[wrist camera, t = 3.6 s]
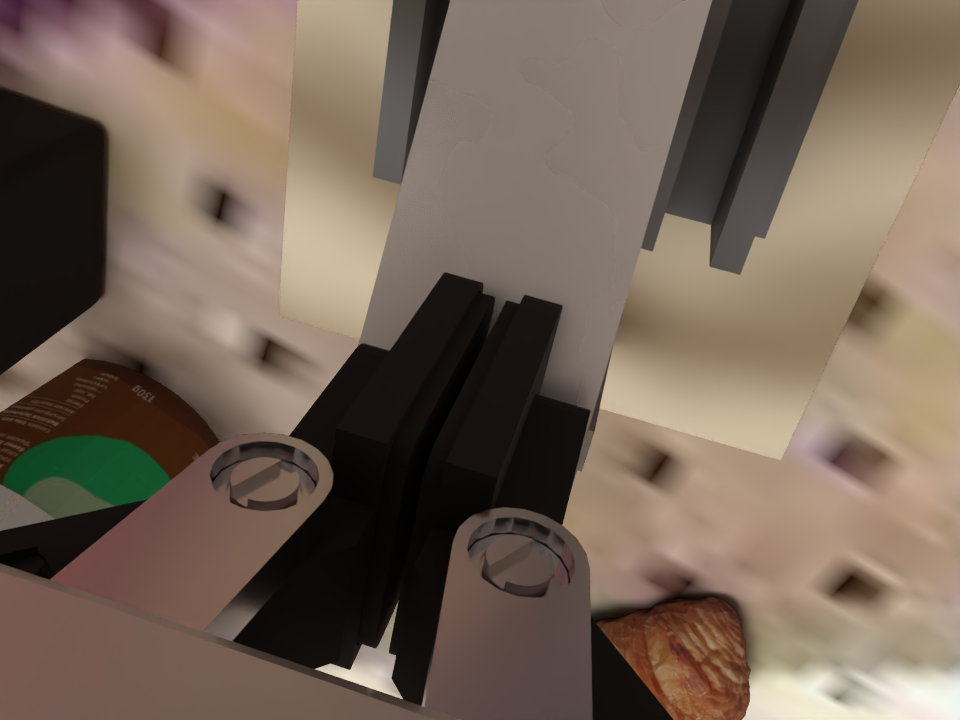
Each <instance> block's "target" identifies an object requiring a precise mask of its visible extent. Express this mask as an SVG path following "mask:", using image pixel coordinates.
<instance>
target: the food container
mask: <svg viewBox="0 0 960 720" xmlns="http://www.w3.org/2000/svg"><path fill="white" fill-rule="evenodd" d="M219 443H220V442H219V440H218V439H217V437H216V436H215V434H214V433H213V432H212V430H211V429H210V427H209V426H208V425H207V423H206V422H205V421H204V420H203V419H202V418H201V417H200V416H199V415H198V414H197V413H196V411H195V410H194V409H193V408H192V407H190V406H189V405H188V404H187V403H186V402H185V401H183V400H182V399H181V398H180V397H179V396H178V395H176V394H175V393H173V392H172V391H170V390H169V389H167V388H166V387H164V386H163V385H162V384H160V383H158V382H156V381H155V380H153V379H151V378H149V377H147V376H145V375H143V374H141V373H139V372H136V371H134V370H131V369H129V368H126V367H124V366H120V365H117V364H113V363H109V362H105V361H99V360H91V359H83V360H81V361H80V362H78V363H77V364H75V365H74V366H72V367H70V368H69V369H67V370H66V371H64V372H63V373H61V374H60V375H58V376H56V377H55V378H53V379H52V380H50V381H49V382H47V383H46V384H44V385H42V386H41V387H39V388H38V389H36V390H35V391H33V392H32V393H30V394H28V395H27V396H25V397H24V398H22V399H21V400H19V401H18V402H16V403H14V404H13V405H11V406H10V407H8V408H7V409H5V410H4V411H2V412H0V531H2V530H7V529H11V528H16V527H21V526H25V525H30V524H35V523H39V522H44V521H49V520H53V519H58V518H63V517H67V516H72V515H77V514H81V513H86V512H91V511H95V510H100V509H105V508H109V507H114V506H119V505H123V504H128V503H133V502H137V501H142V500H147V499H149V498H150V497H151V496H153V495H154V494H155V493H156V492H157V491H159V490H160V489H161V488H162V487H164V486H165V485H166V484H167V483H168V482H170V481H171V480H172V479H173V478H175V477H176V476H177V475H178V474H179V473H181V472H182V471H183V470H184V469H186V468H187V467H188V466H189V465H190V464H192V463H193V462H194V461H195V460H197V459H198V458H199V457H200V456H201V455H203V454H204V453H205V452H206V451H208V450H209V449H210V448H212V447H214V446H215V445H217V444H219Z"/></svg>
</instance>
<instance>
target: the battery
mask: <svg viewBox="0 0 960 720" xmlns="http://www.w3.org/2000/svg"><path fill="white" fill-rule="evenodd" d="M102 180H103V136H102V132H101V130H100V129H99V127H98V126H96V125H95V124H93V123H90V122H88V121H85V120H82V119H80V118H77V117H74V116H71V115H68V114H65V113H63V112H60V111H57V110H54V109H51V108H48V107H46V106H43V105H40V104H37V103H34V102H31V101H29V100H26V99H23V98H20V97H17V96H15V95H12V94H9V93H6V92H3V91H0V375H1V374H2V373H4V372H5V371H6V370H8V369H9V368H10V367H12V366H13V365H14V364H16V363H17V362H18V361H20V360H21V359H22V358H24V357H25V356H26V355H28V354H29V353H30V352H32V351H33V350H34V349H36V348H37V347H38V346H40V345H41V344H42V343H44V342H45V341H46V340H48V339H49V338H50V337H52V336H53V335H54V334H56V333H57V332H58V331H60V330H61V329H62V328H64V327H65V326H66V325H68V324H69V323H70V322H72V321H73V320H74V319H76V318H77V317H78V316H80V315H81V314H82V313H84V312H85V311H86V310H88V309H89V308H90V307H92V306H93V305H94V304H95V303H96V302H97V301H98V299H99V297H100V282H101V231H102Z"/></svg>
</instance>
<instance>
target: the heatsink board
mask: <svg viewBox="0 0 960 720" xmlns="http://www.w3.org/2000/svg"><path fill="white" fill-rule="evenodd" d="M449 3H450V0H298V2H297V19H296V35H295V52H294V69H293V85H292V102H291V118H290V135H289V152H288V168H287V185H286V202H285V218H284V235H283V251H282V268H281V285H280V301H279V317H283V318H286V319H290V320H293V321H297V322H300V323H304V324H307V325H311V326H314V327H318V328H321V329H325V330H328V331H332V332H335V333H339V334H342V335H346V336H349V337H353V338H356V339H360V337H361V333H362V330H363V326H364V322H365V318H366V315H367V311H368V307H369V303H370V300H371V296H372V292H373V288H374V285H375V281H376V277H377V273H378V270H379V266H380V262H381V258H382V255H383V251H384V247H385V243H386V240H387V236H388V232H389V228H390V225H391V221H392V217H393V213H394V210H395V206H396V202H397V198H398V195H399V191H400V187H401V183H402V180H403V176H404V172H405V168H406V165H407V161H408V157H409V153H410V150H411V146H412V142H413V138H414V135H415V131H416V127H417V123H418V120H419V116H420V112H421V108H422V105H423V101H424V97H425V93H426V90H427V86H428V82H429V78H430V75H431V71H432V67H433V63H434V60H435V56H436V52H437V48H438V45H439V41H440V37H441V33H442V30H443V26H444V22H445V18H446V15H447V11H448V7H449ZM959 84H960V0H712V3H711V6H710V10H709V13H708V17H707V20H706V24H705V27H704V31H703V34H702V38H701V41H700V45H699V48H698V51H697V55H696V58H695V62H694V65H693V69H692V72H691V76H690V79H689V83H688V86H687V90H686V93H685V97H684V100H683V104H682V107H681V110H680V114H679V117H678V121H677V124H676V128H675V131H674V135H673V138H672V142H671V145H670V149H669V152H668V156H667V159H666V163H665V166H664V169H663V173H662V176H661V180H660V183H659V187H658V190H657V194H656V197H655V201H654V204H653V208H652V211H651V215H650V218H649V222H648V225H647V228H646V232H645V235H644V239H643V242H642V246H641V249H640V253H639V256H638V260H637V263H636V267H635V270H634V274H633V277H632V280H631V284H630V287H629V291H628V294H627V298H626V301H625V305H624V308H623V312H622V315H621V319H620V322H619V326H618V329H617V333H616V336H615V339H614V343H613V346H612V350H611V353H610V357H609V360H608V364H607V367H606V371H605V374H604V378H603V381H602V385H601V388H600V392H599V395H598V398H597V402H596V405H595V409H594V412H593V416H592V419H591V423H590V426H589V430H588V433H587V437H586V440H585V444H584V447H583V451H582V454H581V457H580V461H579V464H578V468H577V470H578V471H582V469H583V466H584V463H585V459H586V456H587V453H588V450H589V447H590V444H591V441H592V437H593V434H594V431H595V426H596V422H597V417H598V413H599V408H600V409H603V410H607V411H610V412H614V413H617V414H621V415H624V416H628V417H631V418H635V419H638V420H642V421H645V422H649V423H652V424H656V425H659V426H663V427H666V428H670V429H673V430H677V431H680V432H684V433H687V434H690V435H694V436H697V437H701V438H704V439H708V440H711V441H715V442H718V443H722V444H725V445H729V446H732V447H736V448H739V449H743V450H746V451H750V452H753V453H757V454H760V455H764V456H767V457H771V458H774V459H778V460H781V458H782V456H783V454H784V452H785V450H786V448H787V446H788V444H789V441H790V439H791V437H792V435H793V433H794V431H795V429H796V427H797V425H798V423H799V420H800V418H801V416H802V414H803V412H804V410H805V408H806V406H807V404H808V402H809V399H810V397H811V395H812V393H813V391H814V389H815V387H816V385H817V383H818V381H819V378H820V376H821V374H822V372H823V370H824V368H825V366H826V364H827V362H828V360H829V357H830V355H831V353H832V351H833V349H834V347H835V345H836V343H837V341H838V339H839V336H840V334H841V332H842V330H843V328H844V326H845V324H846V322H847V320H848V318H849V315H850V313H851V311H852V309H853V307H854V305H855V303H856V301H857V299H858V297H859V294H860V292H861V290H862V288H863V286H864V284H865V282H866V280H867V278H868V276H869V273H870V271H871V269H872V267H873V265H874V263H875V261H876V259H877V257H878V255H879V252H880V250H881V248H882V246H883V244H884V242H885V240H886V238H887V236H888V234H889V231H890V229H891V227H892V225H893V223H894V221H895V219H896V217H897V215H898V213H899V210H900V208H901V206H902V204H903V202H904V200H905V198H906V196H907V194H908V192H909V189H910V187H911V185H912V183H913V181H914V179H915V177H916V175H917V173H918V171H919V168H920V166H921V164H922V162H923V160H924V158H925V156H926V154H927V152H928V150H929V147H930V145H931V143H932V141H933V139H934V137H935V135H936V133H937V131H938V129H939V126H940V124H941V122H942V120H943V118H944V116H945V114H946V112H947V110H948V108H949V105H950V103H951V101H952V99H953V97H954V95H955V93H956V91H957V89H958V87H959Z"/></svg>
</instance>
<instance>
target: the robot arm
mask: <svg viewBox="0 0 960 720" xmlns="http://www.w3.org/2000/svg"><path fill="white" fill-rule="evenodd" d="M494 304H495V297H493V296H490V295H486V294H483V283H482V282H478V281H475V280H471V279H468V278H464V277H461V276H457V275H454V274H450V273H447V272H444V273H443V274H442V276H441V277H440V279H439V280H438V282H437V283H436V284H435V286H434V287H433V289H432V290H431V292H430V293H429V295H428V296H427V297H426V299H425V300H424V302H423V303H422V305H421V306H420V308H419V309H418V310H417V312H416V313H415V315H414V316H413V318H412V319H411V321H410V322H409V323H408V325H407V326H406V328H405V329H404V331H403V332H402V334H401V335H400V336H399V338H398V339H397V341H396V342H395V344H394V345H393V347H392V348H391V349H390V351H389V350H386V349H382V348H379V347H375V346H372V345H369V344H365V343H363V344H360V345H359V346H358V347H357V348H356V349H355V350H354V352H353V353H352V354H351V356H350V357H349V358H348V360H347V361H346V362H345V364H344V365H343V366H342V367H341V369H340V370H339V371H338V373H337V374H336V375H335V377H334V378H333V379H332V381H331V382H330V383H329V384H328V386H327V387H326V388H325V390H324V391H323V392H322V394H321V395H320V396H319V398H318V399H317V400H316V401H315V403H314V404H313V405H312V407H311V408H310V409H309V411H308V412H307V413H306V414H305V416H304V417H303V418H302V420H301V421H300V422H299V424H298V425H297V426H296V428H295V429H294V430H293V431H292V433H291V434H290V435H289V436H287V435H284V434H273V433H253V434H243V435H239V436H236V437H233V438H230V439H226V440H224V441H222V442H220V443H219V444H217V445H215V446H214V447H212V448H210V449H209V450H208V451H206V452H205V453H204V454H203V455H201V456H200V457H199V458H198V459H197V460H195V461H194V462H193V463H192V464H190V465H189V466H188V467H187V468H186V469H184V470H183V471H182V472H181V473H179V474H178V475H177V476H176V477H175V478H173V479H172V480H171V481H170V482H168V483H167V484H166V485H165V486H164V487H162V488H161V489H160V490H159V491H157V492H156V493H155V494H154V495H153V496H151V497H150V498H149V499H147V500H142V501H137V502H133V503H128V504H123V505H119V506H114V507H109V508H105V509H100V510H95V511H91V512H86V513H81V514H77V515H72V516H67V517H63V518H58V519H53V520H49V521H44V522H39V523H35V524H30V525H25V526H21V527H16V528H11V529H7V530H2V531H0V720H674V719H673V718H672V717H671V715H670V714H669V713H668V712H667V710H666V709H665V708H664V707H663V706H662V704H661V703H660V702H659V701H658V699H657V698H656V697H655V696H654V694H653V693H652V692H651V691H650V689H649V688H648V687H647V686H646V684H645V683H644V682H643V681H642V680H641V678H640V677H639V676H638V675H637V673H636V672H635V671H634V670H633V668H632V667H631V666H630V665H629V663H628V662H627V661H626V660H625V659H624V657H623V656H622V655H621V654H620V652H619V651H618V650H617V649H616V647H615V646H614V645H613V644H612V642H611V641H610V640H609V639H608V637H607V636H606V635H605V634H604V633H603V631H602V630H601V629H600V628H599V626H598V625H597V624H596V623H595V621H594V620H593V619H592V618H591V606H590V568H589V563H588V559H587V555H586V552H585V551H584V549H583V548H582V546H581V544H580V543H579V541H578V540H577V538H576V537H575V536H573V535H572V534H571V533H570V532H569V531H568V530H567V529H566V528H565V527H564V526H562V524H563V520H564V516H565V512H566V508H567V504H568V500H569V496H570V492H571V488H572V484H573V480H574V476H575V472H576V468H577V464H578V460H579V456H580V452H581V448H582V444H583V440H584V436H585V432H586V428H587V424H588V420H589V415H590V410H589V409H586V408H582V407H579V406H576V405H572V404H569V403H565V402H562V401H559V400H555V399H552V398H548V397H545V396H542V395H539V394H540V391H541V387H542V383H543V379H544V376H545V372H546V368H547V365H548V361H549V357H550V353H551V350H552V346H553V342H554V339H555V335H556V331H557V327H558V324H559V320H560V316H561V312H562V308H563V305H560V304H556V303H553V302H549V301H546V300H542V299H539V298H535V297H532V296H528V295H524V296H523V298H522V300H521V303H520V304H518V303H515V302H511V301H508V300H507V301H506V302H505V304H504V306H503V308H502V310H501V312H500V314H499V316H498V318H497V320H496V322H495V324H494V326H493V328H492V330H491V332H490V334H489V336H488V332H489V327H490V323H491V318H492V314H493V309H494ZM487 336H488V338H487ZM398 600H399V602H398ZM397 603H398V607H397V612H396V618H395V623H394V628H393V633H392V638H391V643H390V649H389V653H391V654H394V655H396V660H395V665H394V670H393V675H392V680H393V682H394V684H395V685H396V687H397V689H398V691H399V692H400V694H401V696H402V698H403V699H400V698H397V697H394V696H391V695H388V694H385V693H382V692H379V691H376V690H373V689H370V688H368V687H365V686H362V685H359V684H356V683H353V682H350V681H347V680H344V679H341V678H338V677H335V676H332V675H329V674H327V673H324V672H321V671H318V670H315V669H316V668H319V667H321V666H324V665H327V664H330V663H331V664H334V665H337V666H340V667H343V668H346V669H349V670H350V669H351V667H352V664H353V662H354V660H355V658H356V656H357V654H358V652H359V649H360V647H361V645H362V644H364V645H367V646H370V647H373V648H377V646H378V645H379V643H380V641H381V638H382V636H383V634H384V632H385V629H386V627H387V625H388V623H389V621H390V618H391V616H392V614H393V612H394V609H395V607H396V605H397Z"/></svg>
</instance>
